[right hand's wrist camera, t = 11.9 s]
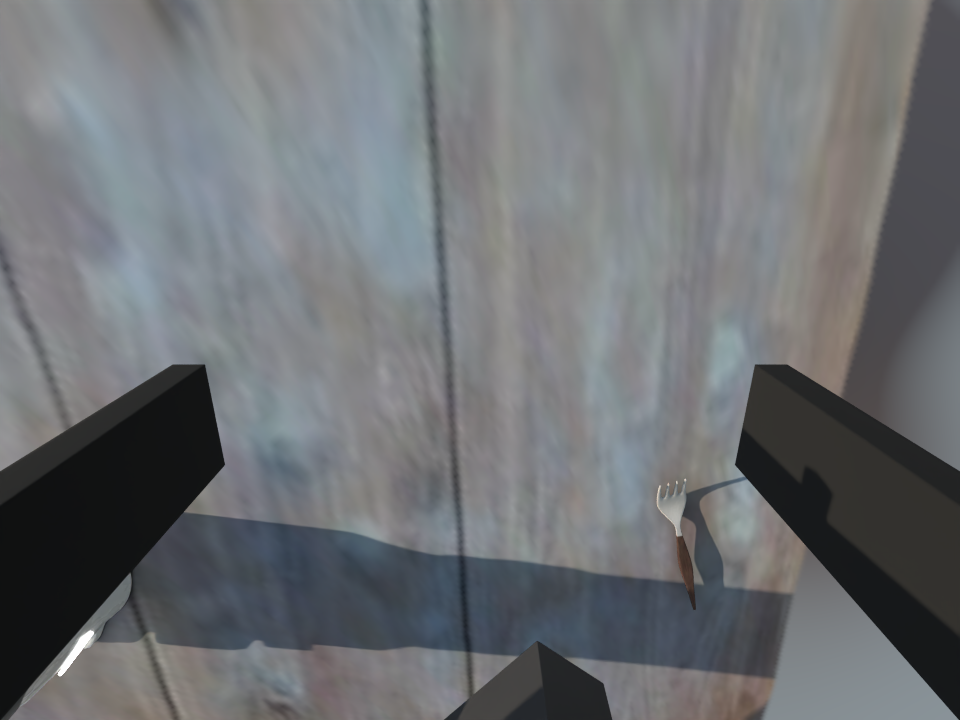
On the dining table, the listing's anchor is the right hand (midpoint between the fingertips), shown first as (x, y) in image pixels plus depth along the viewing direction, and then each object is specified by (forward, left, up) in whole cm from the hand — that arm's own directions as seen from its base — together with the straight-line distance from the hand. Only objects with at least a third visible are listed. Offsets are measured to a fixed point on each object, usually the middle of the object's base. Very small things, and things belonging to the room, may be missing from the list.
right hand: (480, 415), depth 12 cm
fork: (-3, +32, -27) cm, 42 cm away
